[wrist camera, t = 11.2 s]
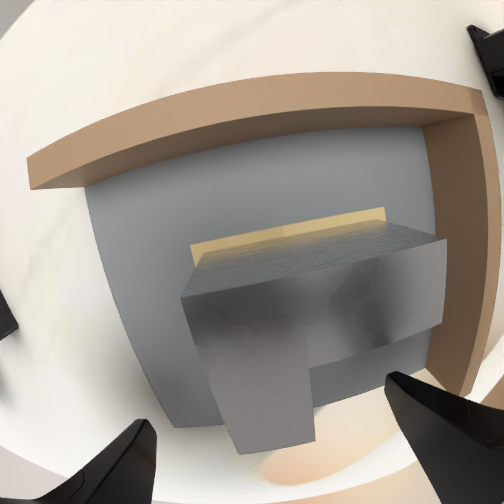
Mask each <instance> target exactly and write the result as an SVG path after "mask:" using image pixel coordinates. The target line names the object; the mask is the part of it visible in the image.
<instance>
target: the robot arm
mask: <svg viewBox="0 0 504 504" xmlns="http://www.w3.org/2000/svg"><path fill="white" fill-rule="evenodd" d="M468 30H469V32H470V34H471V36H472V38H473V40H474V42H475V44H476V47H477V49H478V51H479V54H480V56H481V59H482V61H483V64H484V66H485V69H486V72H487V74H488V77H489V80H490V83H491V86H492V89H493V92H494V94H495V96H496V97H497V98H500V99H503V100H504V29H502V30H499V31H497V32H495V33H492V34H489V33H487V32H485V31H484V30H482V29H480V28H478V27H476V26H474V25H469V26H468ZM384 391H385V395H386V397H387V400H388V402H389V404H390V407H391V409H392V411H393V413H394V416H395V418H396V421H397V423H398V425H399V427H400V429H401V431H402V432H403V434H404V436H405V437H406V439H407V441H408V443H409V444H410V446H411V448H412V450H413V451H414V453H415V455H416V457H417V459H418V460H419V462H420V464H421V466H422V468H423V469H424V471H425V473H426V475H427V476H428V479H429V480H430V482H431V484H432V486H433V488H434V490H435V492H436V494H437V495H438V497H439V499H440V501H441V503H442V504H504V410H501V409H496V408H492V407H489V406H485V405H482V404H479V403H476V402H473V401H471V400H468V401H467V399H465V398H463V397H460V396H457V395H455V394H452V393H450V392H447V391H445V390H442V389H440V388H437V387H435V386H432V385H430V384H427V383H425V382H423V381H420V380H418V379H415V378H413V377H411V376H408V375H406V374H404V373H401V372H399V371H393V372H390V373H388V374H387V375H386V379H385V388H384ZM156 448H157V434H156V431H155V430H154V428H153V427H152V425H151V424H150V422H149V421H148V420H147V419H136V420H135V421H134V422H133V423H132V424H131V425H130V426H129V427H128V428H127V429H125V430H124V431H123V432H122V433H121V434H120V435H119V436H118V437H117V438H116V439H115V440H113V441H112V442H111V443H110V444H109V445H108V446H107V447H106V448H105V449H103V450H102V451H101V452H100V453H99V454H98V455H97V456H95V457H94V458H93V459H92V460H91V461H90V462H89V463H87V464H86V465H85V466H84V467H83V469H80V470H79V471H78V472H77V473H76V474H74V475H73V476H72V477H71V478H69V479H68V480H67V481H65V482H64V483H62V484H61V485H60V486H58V487H57V488H55V489H53V490H52V491H50V492H49V493H47V494H46V495H44V496H42V497H40V498H37V499H31V500H25V499H10V498H1V497H0V504H151V500H152V493H153V485H154V478H155V471H156Z"/></svg>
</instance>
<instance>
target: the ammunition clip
mask: <svg viewBox="0 0 504 504" xmlns="http://www.w3.org/2000/svg"><path fill="white" fill-rule="evenodd" d="M17 329H18V323H17V321H16V319H15V318H14V316H13V314H12V312H11V310H10V308H9V306H8V304H7V302H6V300H5V298H4V296H3V294H2V292H1V290H0V341H1V340H2V339H3V338H5V337H6V336H8V335H9V334H11V333H12V332H14V331H15V330H17Z"/></svg>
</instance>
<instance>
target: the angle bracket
mask: <svg viewBox="0 0 504 504" xmlns="http://www.w3.org/2000/svg"><path fill="white" fill-rule="evenodd" d="M446 268H447V239H446V238H443V237H440V236H436V235H433V234H430V233H426V232H423V231H419V230H416V229H412V228H409V227H405V226H401V225H398V224H394V223H390V222H386V221H382V220H378V219H374V220H368V221H363V222H358V223H353V224H347V225H342V226H337V227H332V228H327V229H321V230H316V231H311V232H306V233H301V234H296V235H291V236H286V237H280V238H275V239H270V240H265V241H260V242H255V243H250V244H245V245H240V246H235V247H230V248H226V249H221V250H216V251H211V252H206V253H203V254H202V256H201V258H200V260H199V262H198V263H197V265H196V267H195V269H194V271H193V273H192V275H191V277H190V279H189V281H188V283H187V285H186V287H185V289H184V291H183V293H182V295H181V297H180V300H181V303H182V306H183V309H184V313H185V316H186V319H187V322H188V325H189V328H190V332H191V335H192V338H193V341H194V343H195V346H196V349H197V352H198V355H199V358H200V361H201V364H202V366H203V369H204V372H205V374H206V377H207V380H208V382H209V385H210V388H211V390H212V393H213V395H214V398H215V400H216V403H217V405H218V408H219V410H220V413H221V415H222V418H223V420H224V422H225V425H226V427H227V429H228V432H229V434H230V436H231V438H232V441H233V443H234V445H235V447H236V449H237V452H238V454H239V455H241V454H250V453H257V452H264V451H270V450H276V449H281V448H287V447H292V446H296V445H300V444H305V443H309V442H313V441H315V428H314V416H313V405H312V394H311V384H310V375H309V368H312V367H316V366H320V365H323V364H327V363H331V362H334V361H338V360H341V359H345V358H348V357H351V356H355V355H358V354H361V353H364V352H367V351H370V350H373V349H376V348H379V347H382V346H385V345H388V344H391V343H393V342H396V341H399V340H401V339H404V338H407V337H409V336H412V335H414V334H417V333H419V332H422V331H424V330H426V329H429V328H431V327H433V326H436V325H438V324H440V323H442V317H443V309H444V299H445V287H446Z"/></svg>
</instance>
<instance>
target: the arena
mask: <svg viewBox="0 0 504 504" xmlns="http://www.w3.org/2000/svg"><path fill="white" fill-rule="evenodd" d="M27 165H28V175H29V183H30V190H37V189H52V188H73V187H84V188H85V194H86V199H87V204H88V209H89V214H90V218H91V222H92V227H93V231H94V235H95V239H96V243H97V246H98V250H99V254H100V257H101V261H102V264H103V267H104V271H105V274H106V277H107V280H108V283H109V286H110V289H111V292H112V295H113V298H114V301H115V304H116V306H117V309H118V312H119V314H120V317H121V320H122V322H123V325H124V327H125V330H126V332H127V335H128V337H129V339H130V342H131V344H132V346H133V349H134V351H135V353H136V356H137V358H138V360H139V362H140V364H141V366H142V368H143V371H144V373H145V375H146V377H147V379H148V381H149V383H150V385H151V387H152V389H153V391H154V393H155V394H156V396H157V398H158V400H159V402H160V404H161V406H162V407H163V409H164V411H165V413H166V414H167V416H168V418H169V420H170V421H171V423H172V425H173V426H174V428H181V427H199V426H211V425H221V424H225V422H224V420H223V418H222V415H221V413H220V410H219V408H218V405H217V403H216V400H215V398H214V395H213V393H212V390H211V388H210V385H209V382H208V380H207V377H206V374H205V372H204V369H203V366H202V364H201V361H200V358H199V355H198V352H197V349H196V346H195V343H194V341H193V338H192V335H191V332H190V328H189V325H188V322H187V319H186V316H185V313H184V309H183V306H182V303H181V300H180V297H181V295H182V293H183V291H184V289H185V287H186V285H187V283H188V281H189V279H190V277H191V275H192V273H193V271H194V269H195V267H196V265H197V263H198V262H199V260H200V258H201V256H202V254H203V253H206V252H211V251H216V250H221V249H226V248H230V247H235V246H240V245H245V244H250V243H255V242H260V241H265V240H270V239H275V238H280V237H286V236H291V235H296V234H301V233H306V232H311V231H316V230H321V229H327V228H332V227H337V226H342V225H347V224H353V223H358V222H363V221H368V220H374V219H378V220H382V221H386V222H390V223H394V224H398V225H401V226H405V227H409V228H412V229H416V230H419V231H423V232H426V233H430V234H433V235H436V236H440V237H443V238H446V239H447V268H446V287H445V299H444V309H443V317H442V323H440V324H438V325H436V326H433V327H431V328H429V329H426V330H424V331H422V332H419V333H417V334H414V335H412V336H409V337H407V338H404V339H401V340H399V341H396V342H393V343H391V344H388V345H385V346H382V347H379V348H376V349H373V350H370V351H367V352H364V353H361V354H358V355H355V356H351V357H348V358H345V359H341V360H338V361H334V362H331V363H327V364H323V365H320V366H316V367H312V368H309V375H310V384H311V394H312V405H313V408H315V407H319V406H322V405H326V404H330V403H333V402H337V401H340V400H343V399H346V398H349V397H352V396H356V395H359V394H362V393H365V392H367V391H370V390H373V389H376V388H378V387H381V386H383V385H385V379H386V375H387V374H388V373H390V372H393V371H399V372H401V373H404V374H406V375H410V374H413V373H415V372H417V371H419V370H421V369H424V368H426V369H427V370H428V371H429V372H430V373H431V374H432V375H433V376H434V377H435V378H436V379H437V381H438V382H439V383H440V384H441V385H442V386H443V387H444V388H445V389H446V390H447V391H448V392H450V393H452V394H455V395H457V396H460V397H463V398H464V397H465V396H467V395H468V394H470V393H471V390H472V387H473V385H474V382H475V379H476V376H477V373H478V370H479V367H480V364H481V360H482V357H483V353H484V349H485V346H486V343H487V338H488V334H489V330H490V325H491V321H492V316H493V311H494V305H495V299H496V293H497V284H498V276H499V267H500V254H501V253H500V252H501V196H500V183H499V173H498V165H497V158H496V151H495V145H494V140H493V135H492V130H491V125H490V121H489V117H488V113H487V109H486V105H485V102H484V98H483V95H482V91H481V90H477V89H473V88H470V87H466V86H461V85H457V84H453V83H448V82H443V81H437V80H432V79H426V78H419V77H412V76H404V75H394V74H383V73H366V72H314V73H296V74H284V75H274V76H266V77H258V78H251V79H244V80H238V81H232V82H227V83H222V84H217V85H212V86H207V87H203V88H199V89H194V90H190V91H186V92H182V93H179V94H175V95H171V96H168V97H164V98H161V99H158V100H155V101H151V102H148V103H145V104H142V105H139V106H136V107H134V108H131V109H128V110H125V111H123V112H120V113H117V114H115V115H112V116H110V117H107V118H105V119H102V120H100V121H98V122H95V123H93V124H91V125H89V126H86V127H84V128H82V129H80V130H78V131H76V132H74V133H71V134H69V135H67V136H65V137H63V138H61V139H60V140H58V141H56V142H54V143H52V144H50V145H48V146H46V147H45V148H43V149H41V150H39V151H38V152H36V153H34V154H33V155H31V156H29V157H28V158H27Z"/></svg>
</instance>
